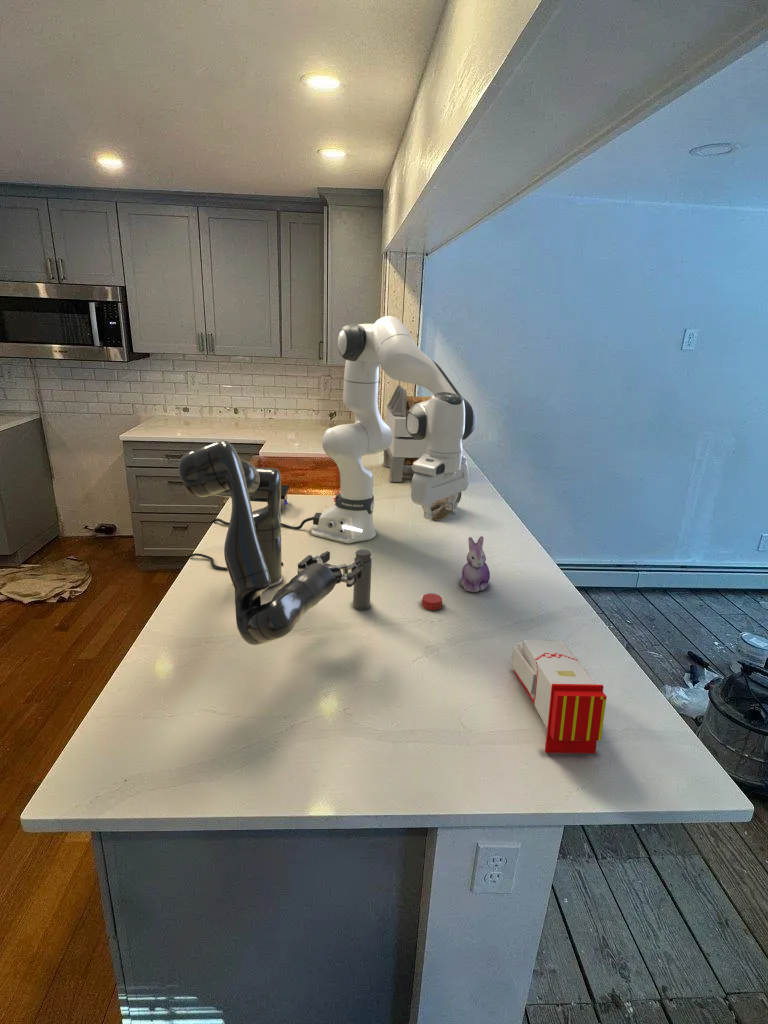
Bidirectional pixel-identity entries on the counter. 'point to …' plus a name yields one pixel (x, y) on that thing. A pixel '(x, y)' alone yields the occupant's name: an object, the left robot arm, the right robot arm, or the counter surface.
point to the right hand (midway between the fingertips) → (439, 513)
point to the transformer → (402, 435)
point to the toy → (561, 695)
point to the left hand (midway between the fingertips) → (344, 558)
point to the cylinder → (363, 581)
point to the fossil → (442, 508)
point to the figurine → (475, 568)
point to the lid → (432, 601)
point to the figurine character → (284, 495)
